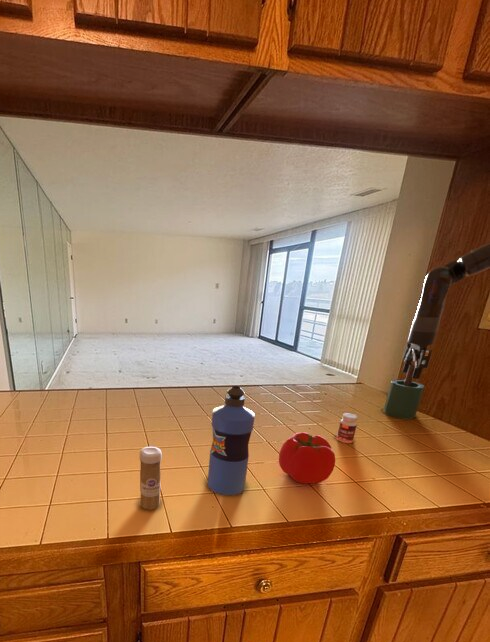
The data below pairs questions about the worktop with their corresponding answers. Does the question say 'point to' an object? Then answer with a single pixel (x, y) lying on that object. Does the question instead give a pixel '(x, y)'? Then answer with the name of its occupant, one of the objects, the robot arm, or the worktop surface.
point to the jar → (403, 399)
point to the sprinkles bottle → (150, 477)
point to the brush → (409, 376)
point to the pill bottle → (347, 428)
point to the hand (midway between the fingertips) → (410, 375)
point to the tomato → (307, 458)
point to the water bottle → (230, 444)
